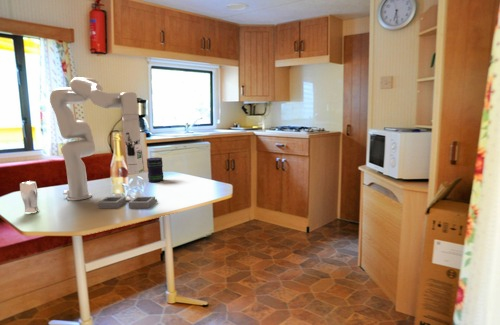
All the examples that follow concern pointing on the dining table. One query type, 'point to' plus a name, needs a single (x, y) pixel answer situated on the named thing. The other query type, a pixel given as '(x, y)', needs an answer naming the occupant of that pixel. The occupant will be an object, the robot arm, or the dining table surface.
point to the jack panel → (133, 203)
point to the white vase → (29, 195)
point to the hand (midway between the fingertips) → (134, 154)
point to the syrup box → (135, 160)
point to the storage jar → (155, 170)
